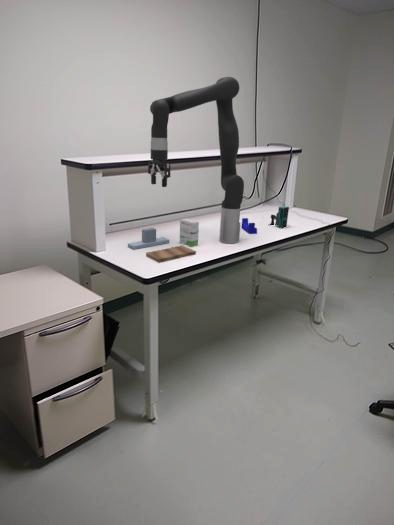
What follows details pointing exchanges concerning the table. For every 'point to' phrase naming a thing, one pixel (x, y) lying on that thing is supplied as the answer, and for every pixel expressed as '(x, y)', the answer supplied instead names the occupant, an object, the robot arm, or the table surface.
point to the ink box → (189, 232)
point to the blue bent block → (248, 226)
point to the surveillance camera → (280, 217)
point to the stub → (148, 239)
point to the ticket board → (170, 253)
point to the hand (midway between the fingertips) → (158, 185)
